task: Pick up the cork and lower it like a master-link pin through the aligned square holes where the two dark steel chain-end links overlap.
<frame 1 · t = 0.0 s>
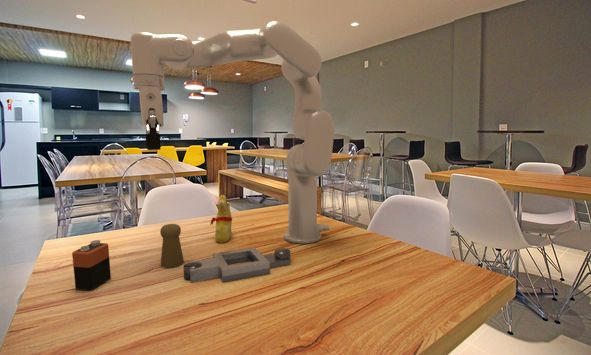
hand: (153, 148, 90), 31 cm above the table, fingers open, 9 cm apart
cork: (172, 264, 91), on the table
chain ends: (240, 268, 88), on the table
battery: (94, 284, 79), on the table
chocolate bunny: (221, 239, 113), on the table
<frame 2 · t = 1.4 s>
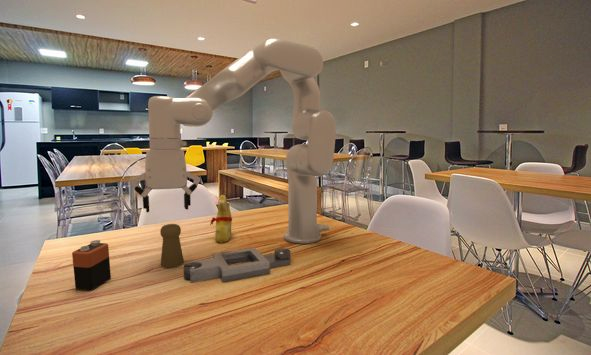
hand: (167, 209, 89), 15 cm above the table, fingers open, 9 cm apart
nothing on the table moved.
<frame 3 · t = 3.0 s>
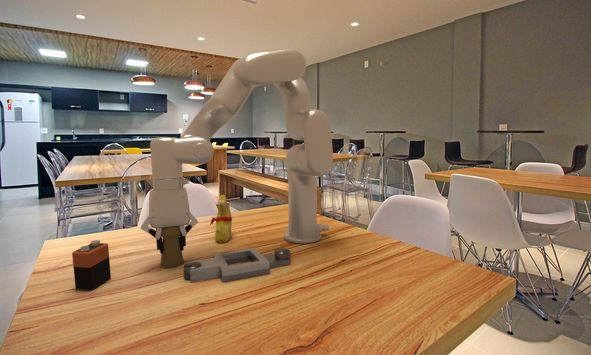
hand: (171, 249, 91), 4 cm above the table, fingers closed on cork, 4 cm apart
cork: (172, 264, 91), on the table, touching gripper
everything else where it was.
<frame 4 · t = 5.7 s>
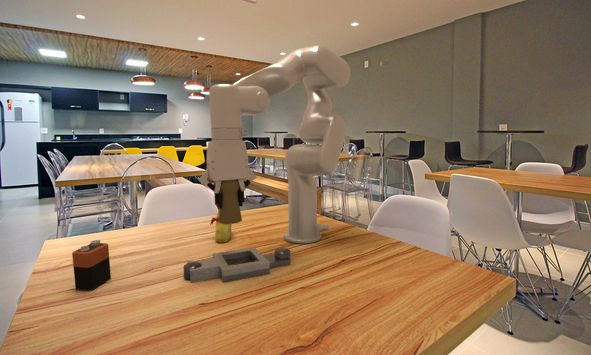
hand: (229, 205, 86), 17 cm above the table, fingers closed on cork, 4 cm apart
cork: (230, 221, 87), point 13 cm above the table, touching gripper
everything else where it was.
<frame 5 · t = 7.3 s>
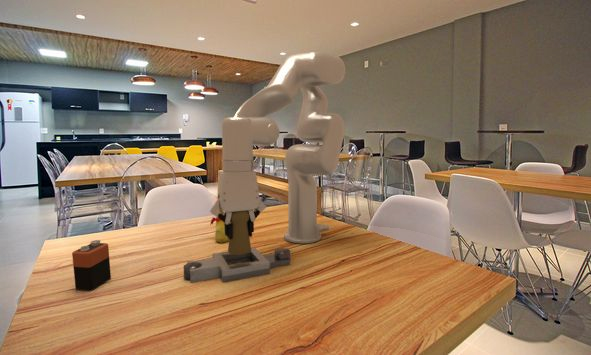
hand: (239, 235, 87), 9 cm above the table, fingers closed on cork, 4 cm apart
cork: (239, 251, 87), point 5 cm above the table, touching gripper
everything else where it was.
when the fingers open (5 cm above the table, at t = 8.4 s): cork drops 1 cm, resting in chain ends.
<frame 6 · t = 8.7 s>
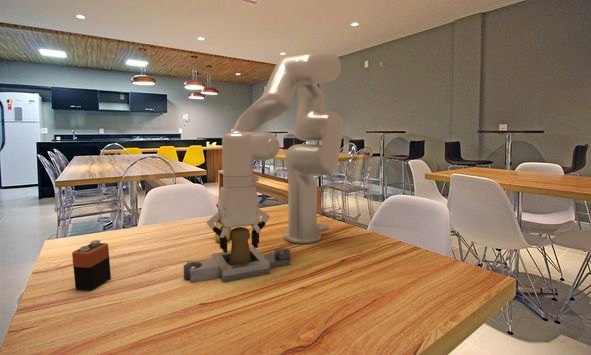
hand: (239, 248, 87), 6 cm above the table, fingers open, 7 cm apart
cork: (240, 269, 88), resting in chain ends
everything else where it was.
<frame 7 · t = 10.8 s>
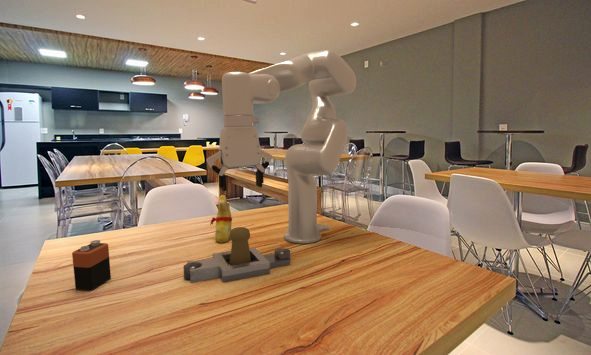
hand: (241, 188, 88), 21 cm above the table, fingers open, 9 cm apart
nothing on the table moved.
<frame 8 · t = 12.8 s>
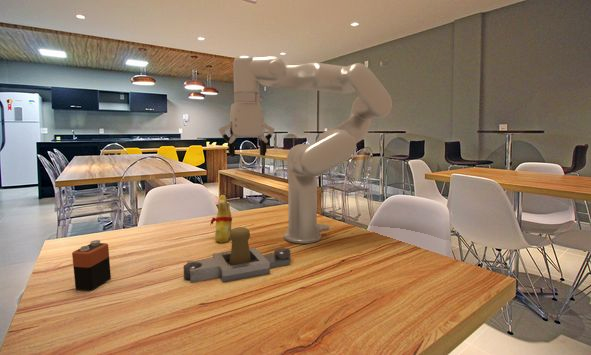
hand: (247, 155, 103), 28 cm above the table, fingers open, 9 cm apart
nothing on the table moved.
at the end: cork 0.2 cm off-centre on the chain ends, point 0.0 cm above the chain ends's base; cork tilted 0°; the gripper is holding nothing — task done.
